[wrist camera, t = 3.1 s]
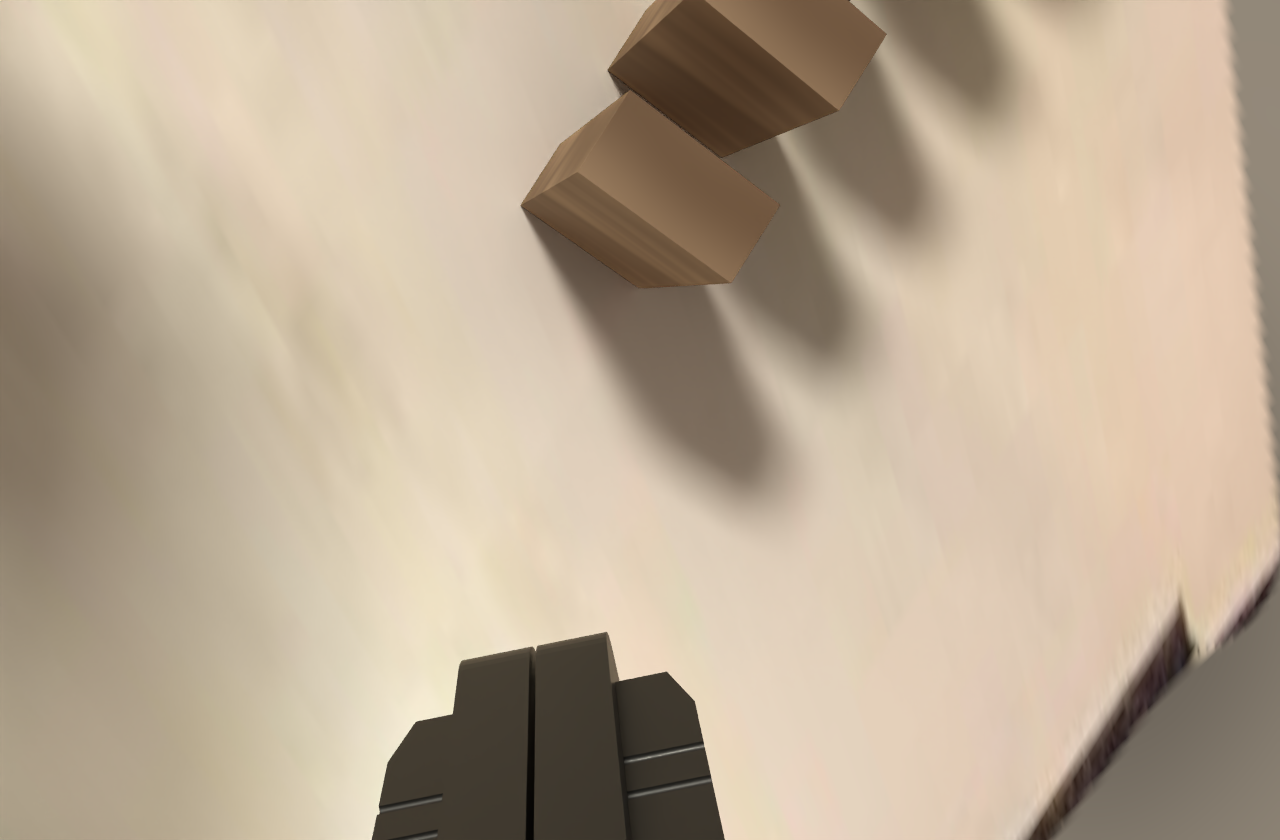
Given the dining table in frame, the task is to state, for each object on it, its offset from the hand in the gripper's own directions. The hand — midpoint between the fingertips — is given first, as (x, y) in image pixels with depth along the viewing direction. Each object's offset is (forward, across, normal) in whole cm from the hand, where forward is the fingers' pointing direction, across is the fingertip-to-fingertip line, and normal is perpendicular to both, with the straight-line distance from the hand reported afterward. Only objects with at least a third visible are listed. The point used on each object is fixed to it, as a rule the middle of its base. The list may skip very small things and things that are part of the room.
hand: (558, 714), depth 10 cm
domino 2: (+26, +2, 0) cm, 26 cm away
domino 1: (+28, +6, +3) cm, 29 cm away
